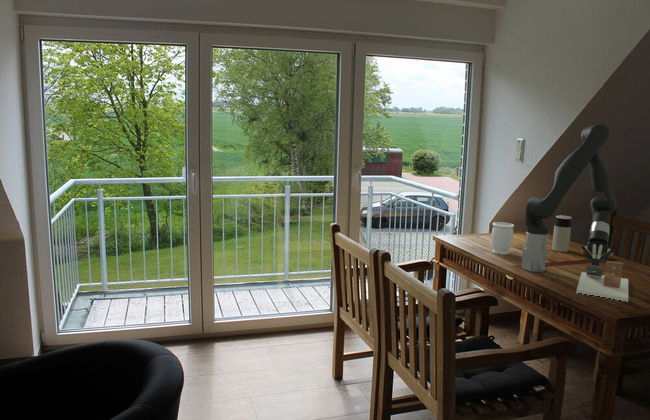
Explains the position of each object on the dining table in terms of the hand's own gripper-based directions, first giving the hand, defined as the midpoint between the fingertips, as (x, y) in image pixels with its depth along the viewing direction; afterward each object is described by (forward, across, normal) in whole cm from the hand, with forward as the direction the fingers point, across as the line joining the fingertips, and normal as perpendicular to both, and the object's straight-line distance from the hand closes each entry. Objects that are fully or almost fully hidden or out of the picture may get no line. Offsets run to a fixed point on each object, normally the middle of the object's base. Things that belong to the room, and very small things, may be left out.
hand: (594, 267), depth 228 cm
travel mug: (-32, -18, +42) cm, 56 cm away
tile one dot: (0, 0, +7) cm, 7 cm away
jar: (-16, -44, +25) cm, 53 cm away
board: (+8, +4, +1) cm, 9 cm away
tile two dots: (+9, +7, -2) cm, 12 cm away
